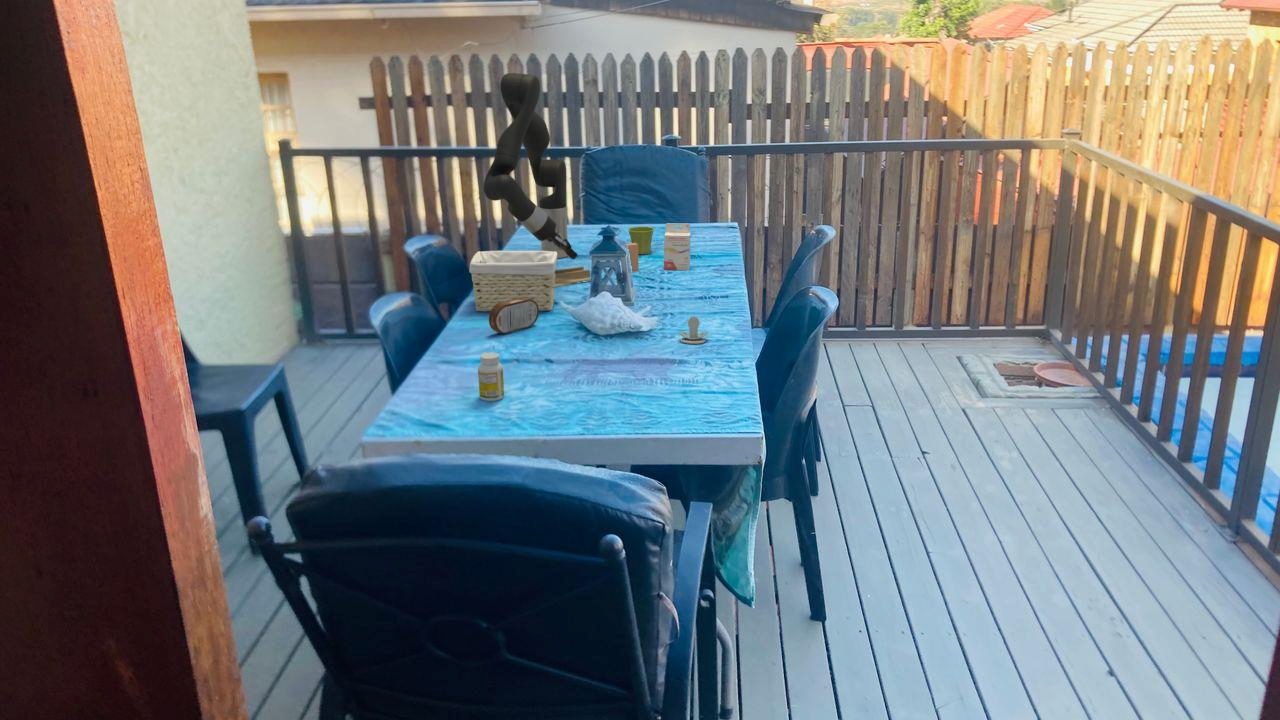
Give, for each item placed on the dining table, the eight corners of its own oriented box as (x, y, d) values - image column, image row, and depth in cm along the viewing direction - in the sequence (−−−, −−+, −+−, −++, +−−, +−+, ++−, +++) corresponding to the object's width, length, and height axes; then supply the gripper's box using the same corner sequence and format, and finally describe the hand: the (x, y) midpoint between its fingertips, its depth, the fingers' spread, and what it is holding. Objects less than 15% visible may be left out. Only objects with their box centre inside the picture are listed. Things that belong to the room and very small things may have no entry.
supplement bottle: (491, 403, 206) (488, 361, 202) (474, 397, 209) (471, 356, 206) (509, 396, 209) (507, 354, 206) (493, 391, 213) (490, 349, 210)
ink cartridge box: (663, 270, 316) (663, 225, 311) (664, 266, 321) (664, 222, 316) (689, 270, 315) (690, 226, 310) (690, 266, 320) (690, 223, 315)
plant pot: (623, 255, 337) (623, 230, 335) (634, 249, 346) (633, 225, 343) (648, 257, 334) (648, 232, 331) (658, 251, 342) (658, 227, 339)
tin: (534, 323, 261) (532, 293, 258) (541, 325, 259) (540, 295, 256) (488, 335, 251) (486, 304, 249) (496, 337, 249) (494, 306, 246)
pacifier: (707, 346, 242) (708, 337, 247) (707, 322, 240) (708, 314, 245) (678, 345, 243) (679, 337, 248) (677, 321, 240) (679, 314, 246)
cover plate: (597, 275, 311) (596, 247, 308) (634, 269, 317) (634, 242, 314) (600, 276, 309) (600, 249, 306) (638, 271, 315) (638, 244, 312)
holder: (527, 280, 304) (526, 271, 303) (578, 273, 313) (578, 264, 312) (541, 288, 295) (541, 279, 294) (594, 281, 303) (593, 271, 302)
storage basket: (559, 297, 285) (558, 249, 281) (556, 313, 270) (554, 261, 265) (479, 299, 285) (475, 250, 280) (471, 314, 270) (467, 263, 265)
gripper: (554, 216, 289) (591, 251, 298) (536, 209, 300) (573, 243, 309) (538, 235, 288) (576, 270, 298) (521, 228, 299) (558, 262, 309)
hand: (574, 256), depth 304 cm, fingers closed
